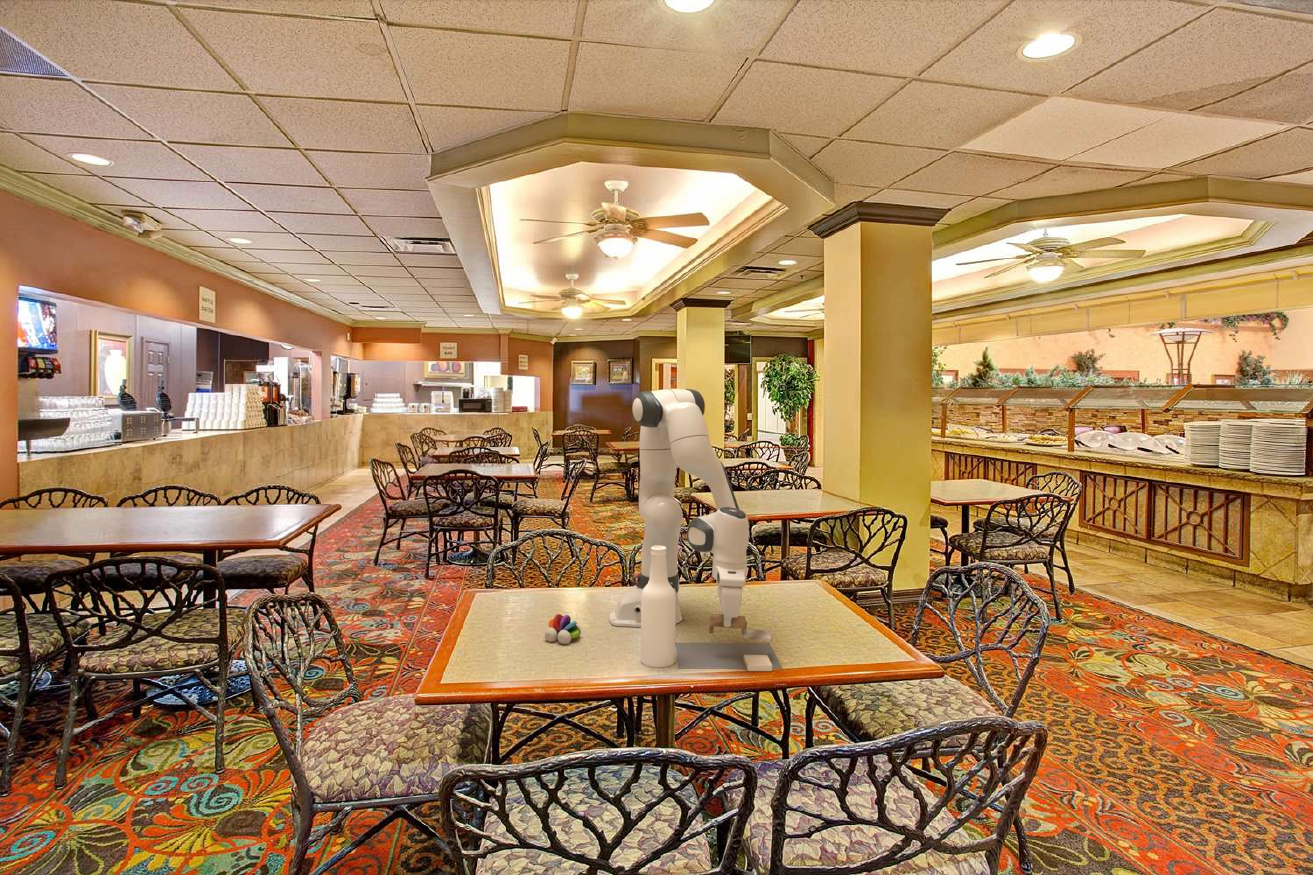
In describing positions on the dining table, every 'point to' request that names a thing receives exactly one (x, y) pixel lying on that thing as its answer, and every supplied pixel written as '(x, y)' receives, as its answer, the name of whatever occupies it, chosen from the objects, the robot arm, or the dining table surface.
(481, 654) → the dining table surface
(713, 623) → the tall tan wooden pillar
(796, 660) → the dining table surface
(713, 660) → the mat
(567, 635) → the multicoloured ball cluster
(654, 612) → the alcohol
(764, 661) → the tile
